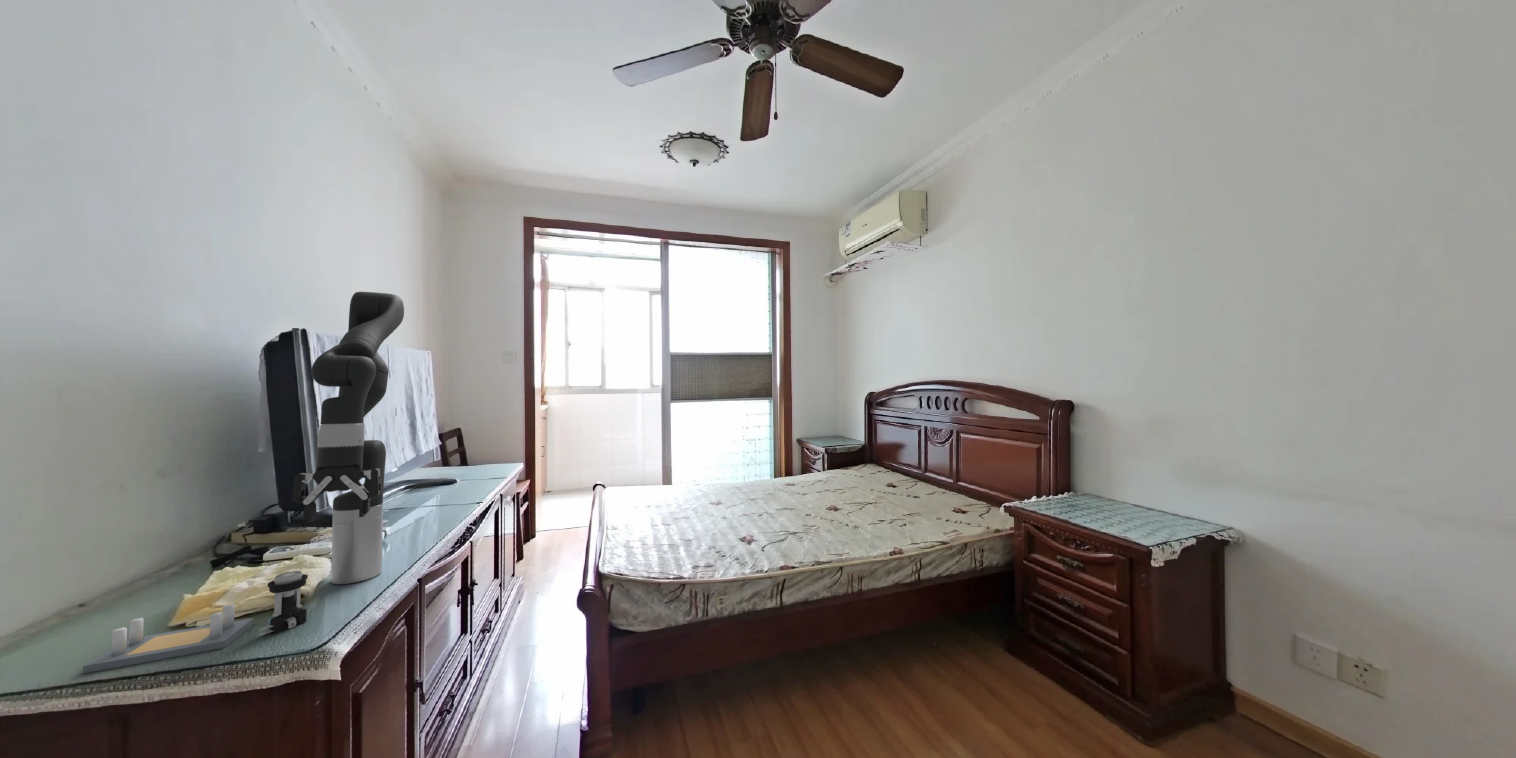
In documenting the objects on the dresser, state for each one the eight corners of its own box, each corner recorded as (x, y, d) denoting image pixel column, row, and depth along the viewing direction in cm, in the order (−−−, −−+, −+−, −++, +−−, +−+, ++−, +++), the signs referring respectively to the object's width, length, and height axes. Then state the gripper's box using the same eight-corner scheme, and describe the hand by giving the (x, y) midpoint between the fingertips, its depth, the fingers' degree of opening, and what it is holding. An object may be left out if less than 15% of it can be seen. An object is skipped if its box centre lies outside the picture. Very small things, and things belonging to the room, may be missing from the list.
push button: (269, 640, 81) (271, 584, 81) (249, 636, 82) (250, 581, 83) (313, 621, 88) (315, 570, 88) (294, 618, 89) (295, 568, 89)
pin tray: (128, 645, 80) (129, 615, 80) (253, 624, 87) (254, 597, 87) (82, 673, 72) (83, 640, 72) (224, 647, 79) (225, 617, 79)
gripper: (386, 442, 106) (383, 512, 104) (305, 445, 99) (300, 520, 98) (377, 443, 99) (373, 518, 98) (289, 447, 93) (284, 527, 91)
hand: (337, 519), depth 98 cm, fingers open, 8 cm apart
